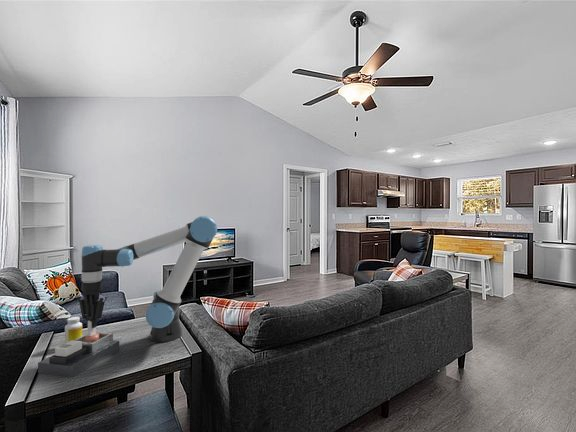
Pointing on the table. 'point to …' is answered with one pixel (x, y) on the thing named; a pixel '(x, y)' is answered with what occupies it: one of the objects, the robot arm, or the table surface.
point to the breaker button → (92, 338)
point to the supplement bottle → (73, 329)
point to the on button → (68, 348)
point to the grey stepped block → (80, 357)
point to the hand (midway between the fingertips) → (91, 334)
